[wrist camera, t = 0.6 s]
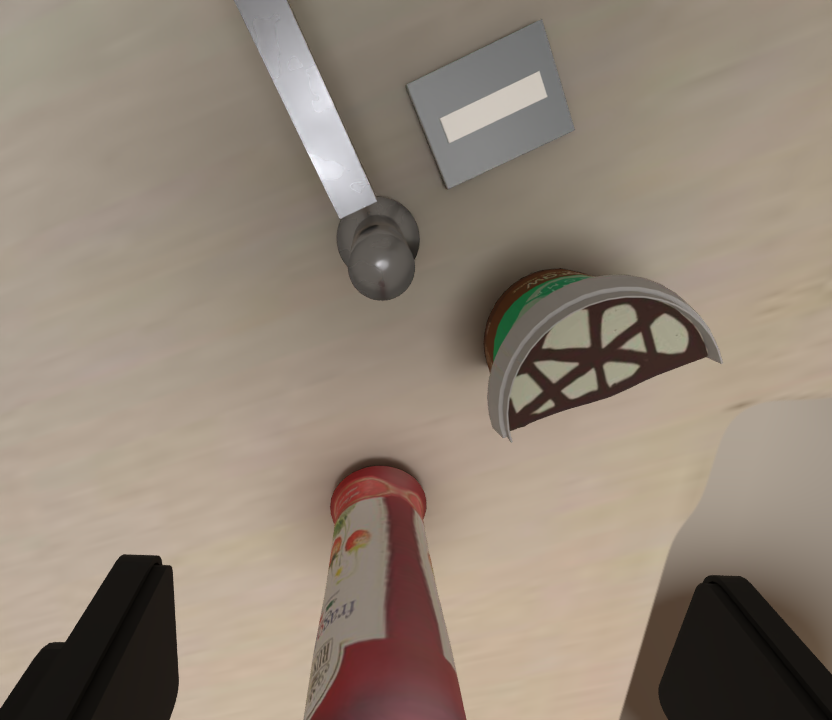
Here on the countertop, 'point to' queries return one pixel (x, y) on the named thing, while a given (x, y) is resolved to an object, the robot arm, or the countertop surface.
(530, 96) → the label tile
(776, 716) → the robot arm
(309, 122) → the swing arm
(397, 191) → the countertop surface
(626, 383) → the food container
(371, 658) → the liquor
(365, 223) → the pivot post
